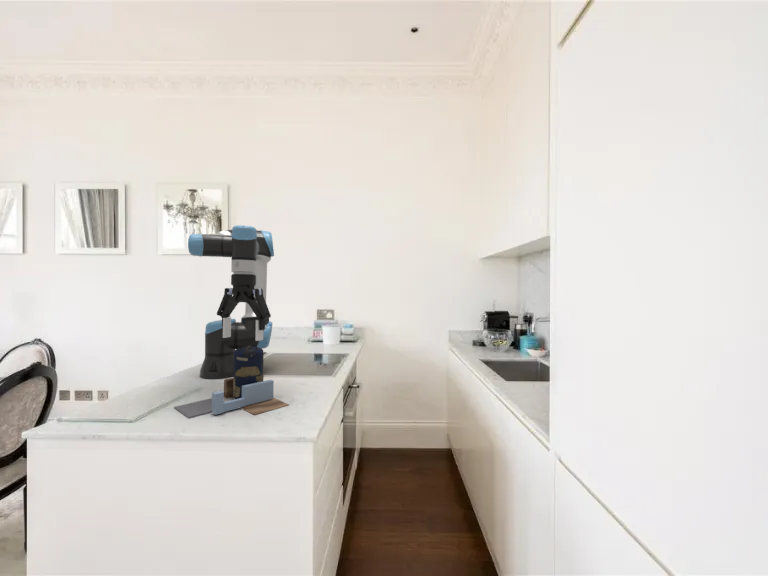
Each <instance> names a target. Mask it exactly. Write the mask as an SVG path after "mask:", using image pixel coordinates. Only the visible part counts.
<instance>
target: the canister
mask: <svg viewBox="0 0 768 576" xmlns="http://www.w3.org/2000/svg"><path fill="white" fill-rule="evenodd" d="M264 377H265V375H264V348H259V347H251V346H248V347H244V348H239V349H235V351H234V370H233V376H232V378H233V397H232V398H233V400H235V399H239V398H242V386H243V385H248V384H253V383H257V382H262V381H264Z"/></svg>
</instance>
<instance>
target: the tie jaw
mask: <svg viewBox="0 0 768 576" xmlns="http://www.w3.org/2000/svg"><path fill="white" fill-rule="evenodd" d="M274 381H275V380H273V379H268V380H267V379H266V380H263V381H262V382H257V383H253V384H248V385H243V386H242V398H239V399H230V400H226V401H225V398H224V391H221V390H218V391H212V393H211V398H212V414H214V415H215V416H216V415H219V414H223V413H225V412H229V411H233V410H236V409H241V407H244V406H247V405H251V404H255V403H258V402H262V401H266V400H270V399H273V398H274Z"/></svg>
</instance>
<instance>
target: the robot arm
mask: <svg viewBox="0 0 768 576" xmlns="http://www.w3.org/2000/svg"><path fill="white" fill-rule="evenodd" d="M187 239H188V240H187V249H188V253H189V254H190V255H191V256H194V257H211V258H212V257H214V258H215V257H217V258H218V257H220V258H221V257H222V258H231V265H230V266H231V273H232V274H230V285H231V286H232V287H226V288H224V294H223V297H222V299H221V302H220V304H219V307H218V310H217V312H216V315H217V316H219V317H221V319H219V320H213V321H210V322H208V323H207V324H206V325H205V332H204V359H203V361H202V364H201V367H200V370H199V376H200V378H203V379H208V380H209V379H211V380H212V379H227V378H229V377H233V370H234V351H235V350H236V349H239V348H244V347H248V346H251V347H259V348H262V349H266V348H268V347H269V345H270V342H271V338H272V330H273V322H272V321H270V318H271V317H272V316H271V315H272V314H271V313H270V309H269V307H268V305H267V285H268V284H267V283H268V281H267V279H268V263H269V262H270V261H271V260H272V257H274V256H275V252H274V250H275V249H274V243H273V234H272V233H271V231H267V230H263V229H262V230H261V229H260V230H258V229H257V228H256V227H254V226H251V225H244V224H243V225H242V224H241V225H234V226H232V229H228V230H227V229H226V230H221V231H220V230H219V231H217V232H216V233H209V234H206V233H205V234H203V233H191V234H189V236H188V238H187ZM240 303H245V311H244V313H245V314H244V315H243V316H242V317H241V319H240V322H239V321H237V320H236V319H235V318H232V317H231V314H232V313H233V311H234V310H235V309H236V307H237V306H238V304H240Z"/></svg>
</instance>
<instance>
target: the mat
mask: <svg viewBox="0 0 768 576" xmlns="http://www.w3.org/2000/svg"><path fill="white" fill-rule="evenodd" d="M173 409H175V410H176V411H177V412H179V413H180V414H182V415H183V416H184V417H186V418H187V419H191V418H195V417H200V416H204V415H206V414H210V413H212V397H210V398H206V399H202V400H198V401H194V402H190V403H185V404H181V405H175V406H173ZM212 414H213V413H212Z"/></svg>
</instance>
